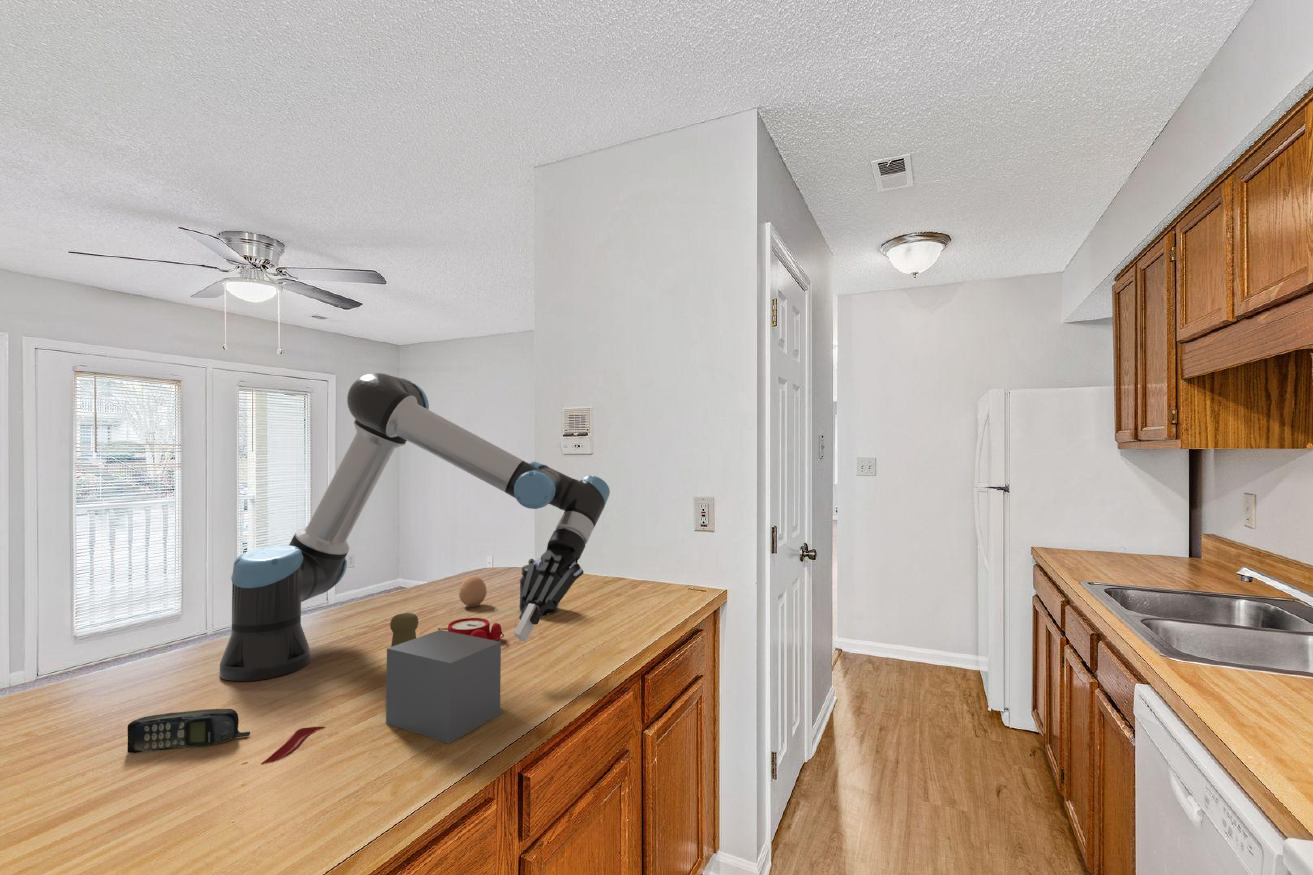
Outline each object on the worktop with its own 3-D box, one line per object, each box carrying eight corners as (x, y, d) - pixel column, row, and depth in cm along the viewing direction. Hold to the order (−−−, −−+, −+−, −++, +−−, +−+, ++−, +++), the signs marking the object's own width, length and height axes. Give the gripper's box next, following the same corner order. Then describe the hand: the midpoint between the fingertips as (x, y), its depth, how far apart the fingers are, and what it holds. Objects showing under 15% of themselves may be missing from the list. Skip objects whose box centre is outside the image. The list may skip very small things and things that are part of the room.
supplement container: (554, 616, 155) (555, 570, 155) (514, 616, 155) (515, 570, 155) (561, 605, 165) (561, 563, 166) (524, 605, 166) (524, 562, 166)
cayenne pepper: (319, 726, 94) (319, 714, 94) (339, 732, 92) (339, 719, 92) (241, 763, 83) (241, 750, 83) (262, 770, 81) (263, 756, 81)
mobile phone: (123, 723, 84) (243, 709, 88) (136, 714, 87) (251, 701, 91) (124, 758, 84) (244, 742, 88) (136, 748, 87) (252, 733, 91)
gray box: (449, 743, 88) (450, 663, 88) (385, 723, 94) (386, 648, 95) (500, 714, 98) (500, 641, 98) (439, 697, 104) (440, 629, 104)
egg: (478, 610, 160) (478, 579, 160) (453, 608, 161) (454, 577, 162) (491, 603, 167) (491, 573, 167) (467, 602, 169) (467, 572, 169)
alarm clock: (465, 615, 143) (512, 609, 136) (469, 641, 142) (516, 637, 136) (431, 627, 134) (479, 621, 127) (435, 655, 133) (484, 650, 126)
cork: (426, 667, 119) (427, 612, 119) (402, 677, 113) (403, 620, 113) (405, 662, 121) (405, 608, 121) (380, 672, 116) (381, 616, 116)
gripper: (602, 550, 126) (556, 652, 111) (552, 545, 132) (502, 642, 117) (589, 528, 122) (538, 632, 106) (538, 524, 127) (483, 622, 112)
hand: (519, 637), depth 112 cm, fingers closed
